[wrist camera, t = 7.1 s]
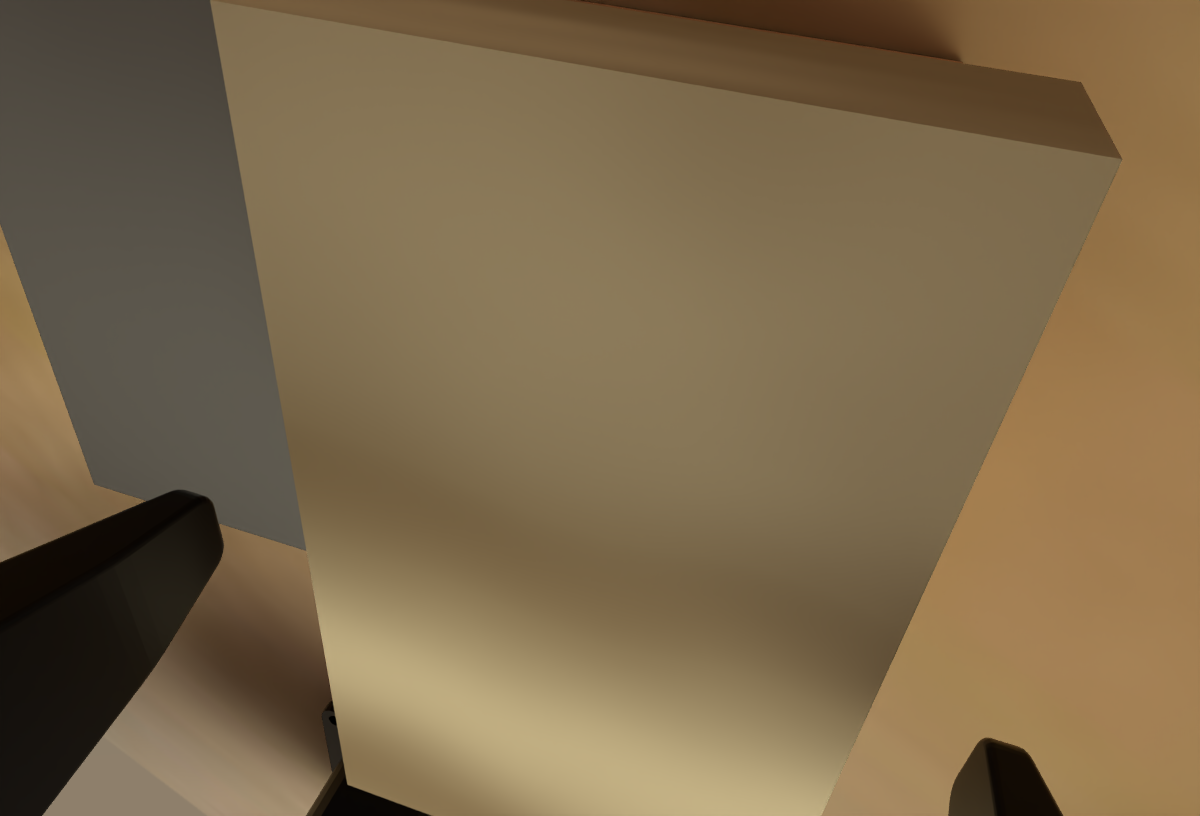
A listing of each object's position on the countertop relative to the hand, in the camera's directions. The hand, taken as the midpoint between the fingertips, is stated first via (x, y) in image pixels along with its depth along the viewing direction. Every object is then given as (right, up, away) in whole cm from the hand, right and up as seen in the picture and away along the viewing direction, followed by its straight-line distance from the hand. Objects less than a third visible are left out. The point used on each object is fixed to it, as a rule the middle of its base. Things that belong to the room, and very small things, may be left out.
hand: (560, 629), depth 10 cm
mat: (-8, +5, +9) cm, 13 cm away
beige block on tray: (+1, +1, +2) cm, 2 cm away
